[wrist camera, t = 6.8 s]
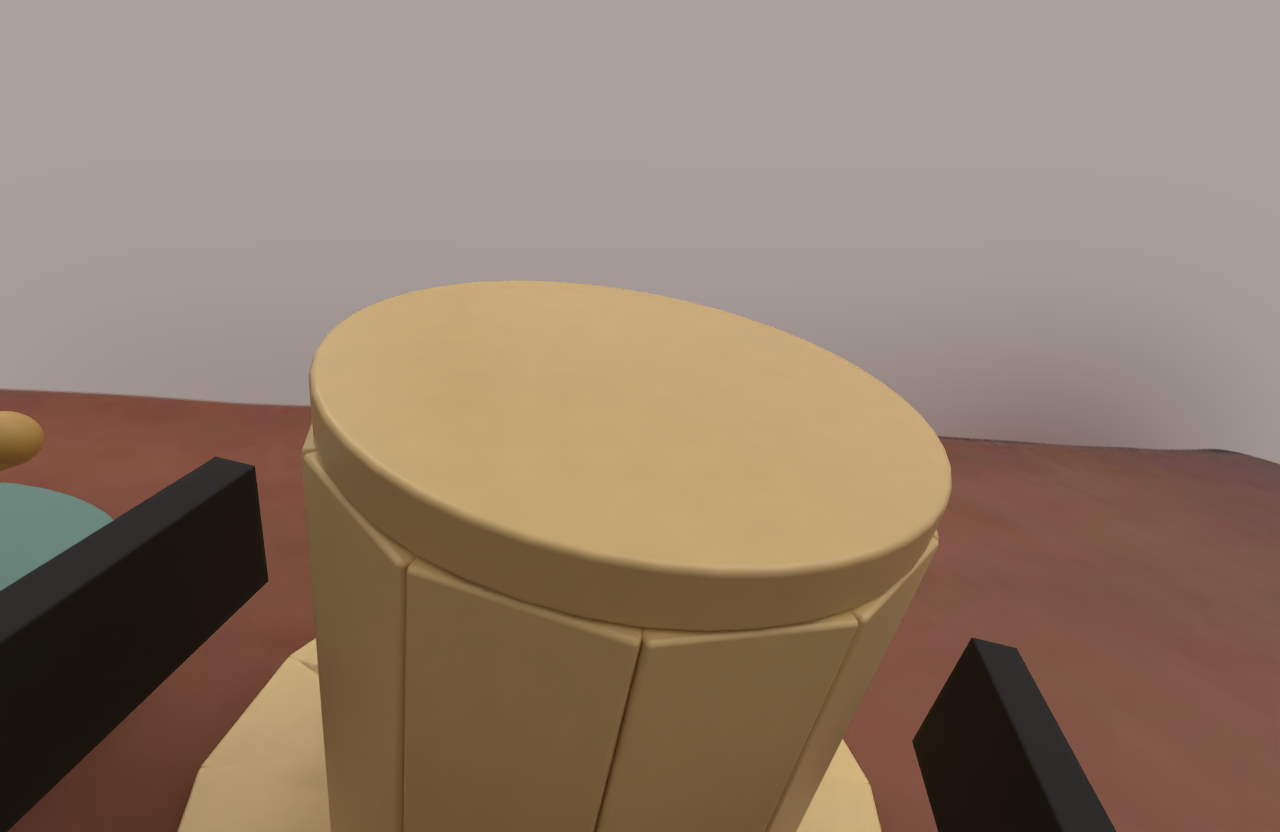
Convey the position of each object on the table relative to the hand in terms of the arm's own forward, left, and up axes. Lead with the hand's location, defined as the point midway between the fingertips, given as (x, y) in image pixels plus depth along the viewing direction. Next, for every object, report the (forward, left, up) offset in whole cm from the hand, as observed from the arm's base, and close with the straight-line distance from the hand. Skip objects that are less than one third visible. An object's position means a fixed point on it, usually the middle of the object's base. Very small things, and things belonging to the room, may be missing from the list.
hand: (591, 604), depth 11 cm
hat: (0, 0, -6) cm, 6 cm away
